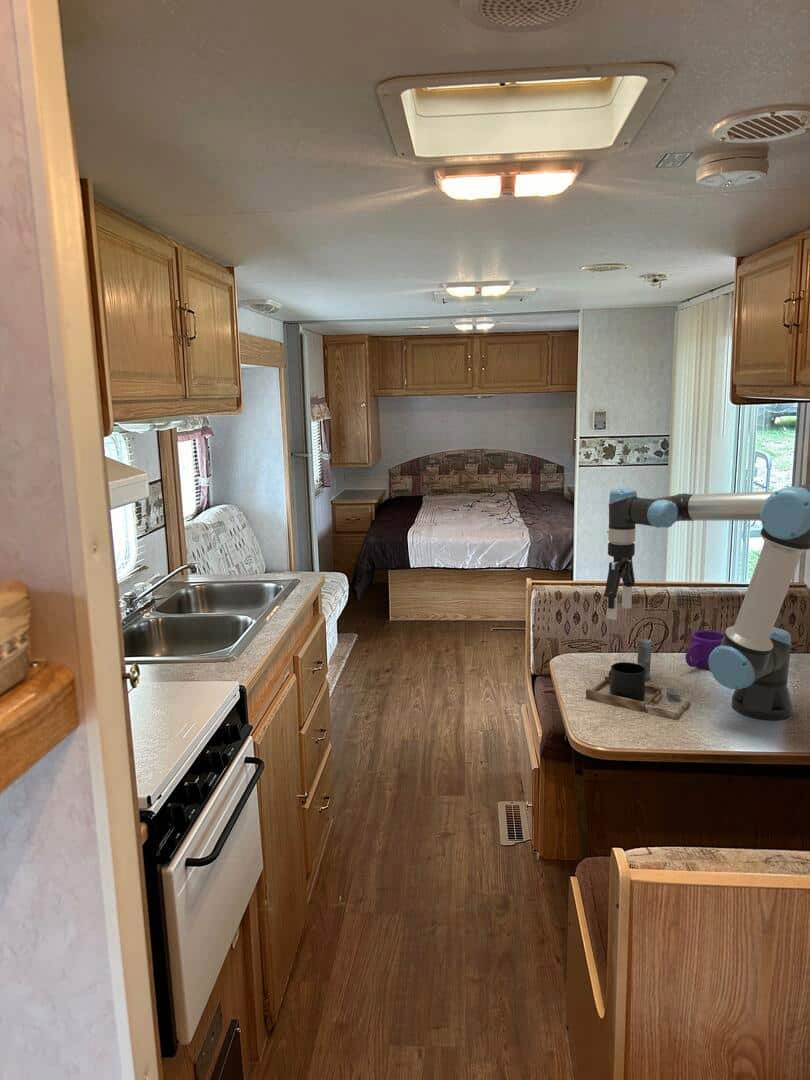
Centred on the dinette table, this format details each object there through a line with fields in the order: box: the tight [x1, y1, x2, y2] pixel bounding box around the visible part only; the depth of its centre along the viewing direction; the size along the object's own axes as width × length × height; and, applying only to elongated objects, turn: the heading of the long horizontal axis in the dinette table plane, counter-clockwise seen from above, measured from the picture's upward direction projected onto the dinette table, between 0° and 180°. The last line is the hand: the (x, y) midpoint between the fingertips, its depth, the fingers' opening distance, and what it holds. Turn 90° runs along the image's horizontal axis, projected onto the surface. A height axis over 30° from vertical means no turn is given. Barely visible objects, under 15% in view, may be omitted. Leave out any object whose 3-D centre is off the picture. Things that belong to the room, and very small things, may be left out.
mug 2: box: [685, 629, 725, 671], centre depth 242 cm, size 17×11×10 cm, turn 125°
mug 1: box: [608, 661, 646, 702], centre depth 220 cm, size 9×12×9 cm
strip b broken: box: [644, 687, 691, 721], centre depth 214 cm, size 9×17×2 cm, turn 144°
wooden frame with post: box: [585, 638, 662, 713], centre depth 224 cm, size 17×26×12 cm, turn 144°
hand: (619, 613), depth 227 cm, fingers open, 13 cm apart
